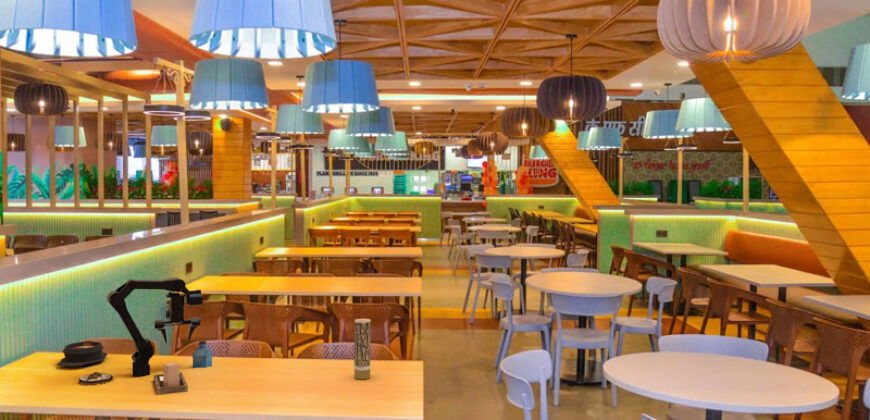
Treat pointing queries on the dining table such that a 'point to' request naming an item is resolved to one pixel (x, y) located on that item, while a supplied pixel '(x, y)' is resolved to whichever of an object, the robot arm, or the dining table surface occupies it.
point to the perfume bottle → (202, 356)
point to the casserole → (82, 354)
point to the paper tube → (362, 349)
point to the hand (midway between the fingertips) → (177, 342)
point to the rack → (173, 389)
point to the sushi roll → (95, 378)
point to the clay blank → (170, 374)
